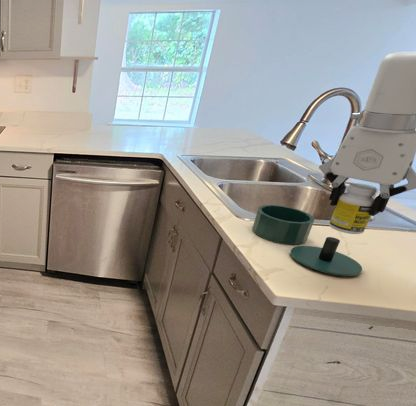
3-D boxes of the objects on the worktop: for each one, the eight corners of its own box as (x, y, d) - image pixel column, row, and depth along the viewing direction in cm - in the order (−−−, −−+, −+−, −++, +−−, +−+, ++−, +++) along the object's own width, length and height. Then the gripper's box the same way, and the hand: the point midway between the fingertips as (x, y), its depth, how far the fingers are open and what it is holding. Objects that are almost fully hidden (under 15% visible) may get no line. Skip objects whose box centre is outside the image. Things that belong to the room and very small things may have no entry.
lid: (370, 268, 87) (381, 243, 84) (346, 284, 81) (357, 259, 78) (304, 244, 97) (312, 222, 95) (279, 258, 92) (287, 234, 89)
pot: (314, 237, 100) (322, 216, 98) (292, 249, 95) (300, 227, 93) (265, 221, 110) (272, 201, 107) (243, 231, 105) (249, 210, 102)
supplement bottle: (351, 236, 75) (368, 192, 71) (322, 225, 80) (337, 183, 76) (370, 232, 76) (389, 188, 72) (340, 222, 81) (356, 180, 77)
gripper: (321, 118, 74) (295, 200, 81) (451, 131, 60) (406, 229, 67) (338, 114, 77) (311, 193, 84) (465, 125, 63) (420, 219, 70)
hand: (354, 208), depth 76 cm, fingers closed on supplement bottle, 5 cm apart
